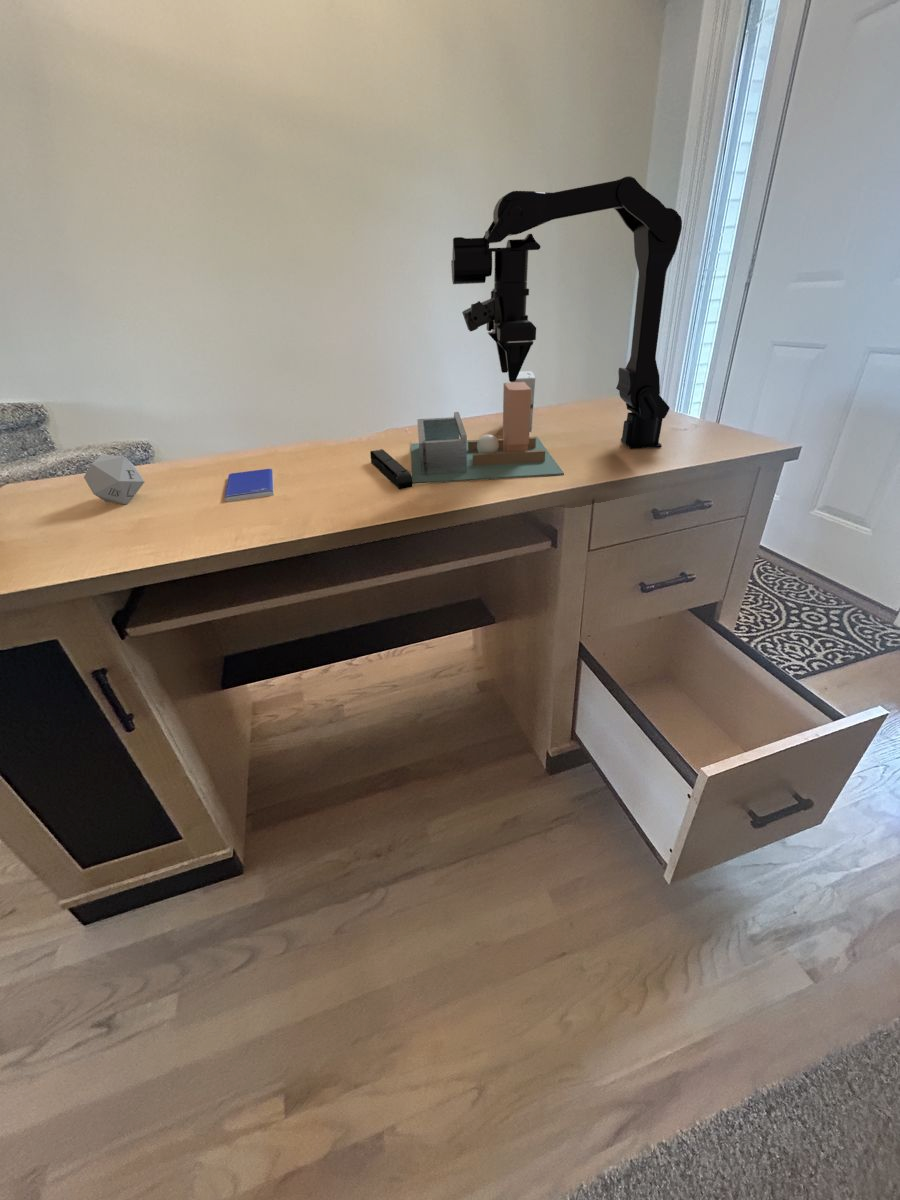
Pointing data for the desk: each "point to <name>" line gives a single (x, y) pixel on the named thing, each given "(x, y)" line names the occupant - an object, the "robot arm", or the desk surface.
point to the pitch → (493, 464)
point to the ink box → (530, 381)
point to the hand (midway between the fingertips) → (508, 376)
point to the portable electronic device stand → (391, 469)
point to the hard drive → (249, 485)
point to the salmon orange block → (516, 416)
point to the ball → (488, 444)
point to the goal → (442, 445)
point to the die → (113, 479)
